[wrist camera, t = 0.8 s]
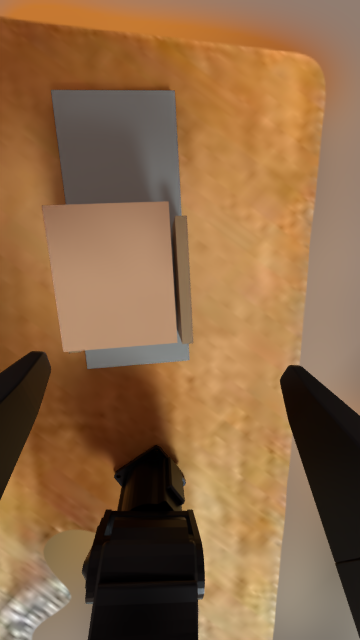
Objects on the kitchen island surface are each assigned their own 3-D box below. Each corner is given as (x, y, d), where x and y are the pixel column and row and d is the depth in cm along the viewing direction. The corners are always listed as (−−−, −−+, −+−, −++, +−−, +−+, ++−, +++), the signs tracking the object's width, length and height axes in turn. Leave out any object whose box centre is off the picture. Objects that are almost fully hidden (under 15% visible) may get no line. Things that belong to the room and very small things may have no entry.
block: (171, 321, 24) (177, 342, 15) (99, 326, 24) (63, 351, 15) (165, 233, 23) (168, 201, 14) (88, 236, 22) (41, 205, 13)
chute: (188, 356, 26) (194, 374, 21) (90, 365, 26) (73, 385, 20) (173, 100, 22) (178, 45, 17) (56, 100, 21) (24, 42, 16)
